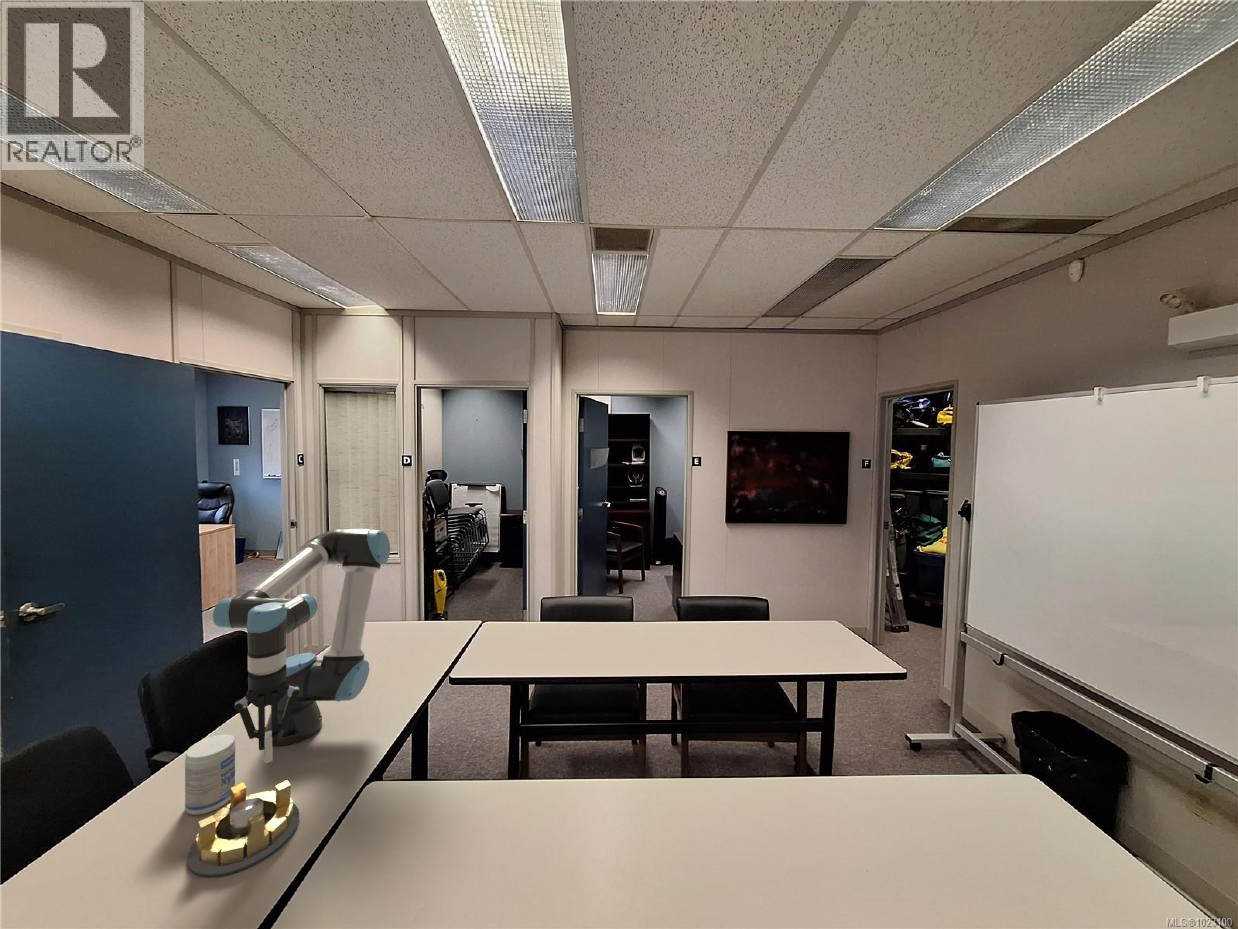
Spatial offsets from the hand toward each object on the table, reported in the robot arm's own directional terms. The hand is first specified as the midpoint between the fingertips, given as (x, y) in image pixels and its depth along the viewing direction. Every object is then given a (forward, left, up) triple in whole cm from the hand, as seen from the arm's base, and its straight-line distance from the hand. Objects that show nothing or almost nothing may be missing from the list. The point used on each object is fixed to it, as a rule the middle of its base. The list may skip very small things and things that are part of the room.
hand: (268, 759), depth 113 cm
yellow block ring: (+7, +3, -12) cm, 14 cm away
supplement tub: (+2, -16, -13) cm, 21 cm away
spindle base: (+7, +3, -13) cm, 15 cm away
